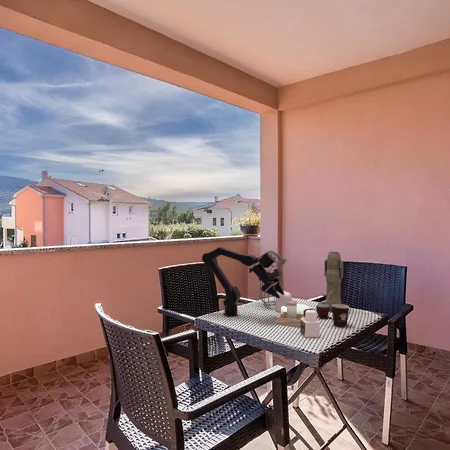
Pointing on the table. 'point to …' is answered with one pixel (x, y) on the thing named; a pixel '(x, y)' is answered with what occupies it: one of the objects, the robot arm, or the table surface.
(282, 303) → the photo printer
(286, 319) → the open box
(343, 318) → the coffee mug
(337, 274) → the stone statue
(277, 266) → the geometric lantern
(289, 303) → the ceramic jar
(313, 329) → the medicine bottle
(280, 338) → the table surface
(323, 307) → the mate gourd
